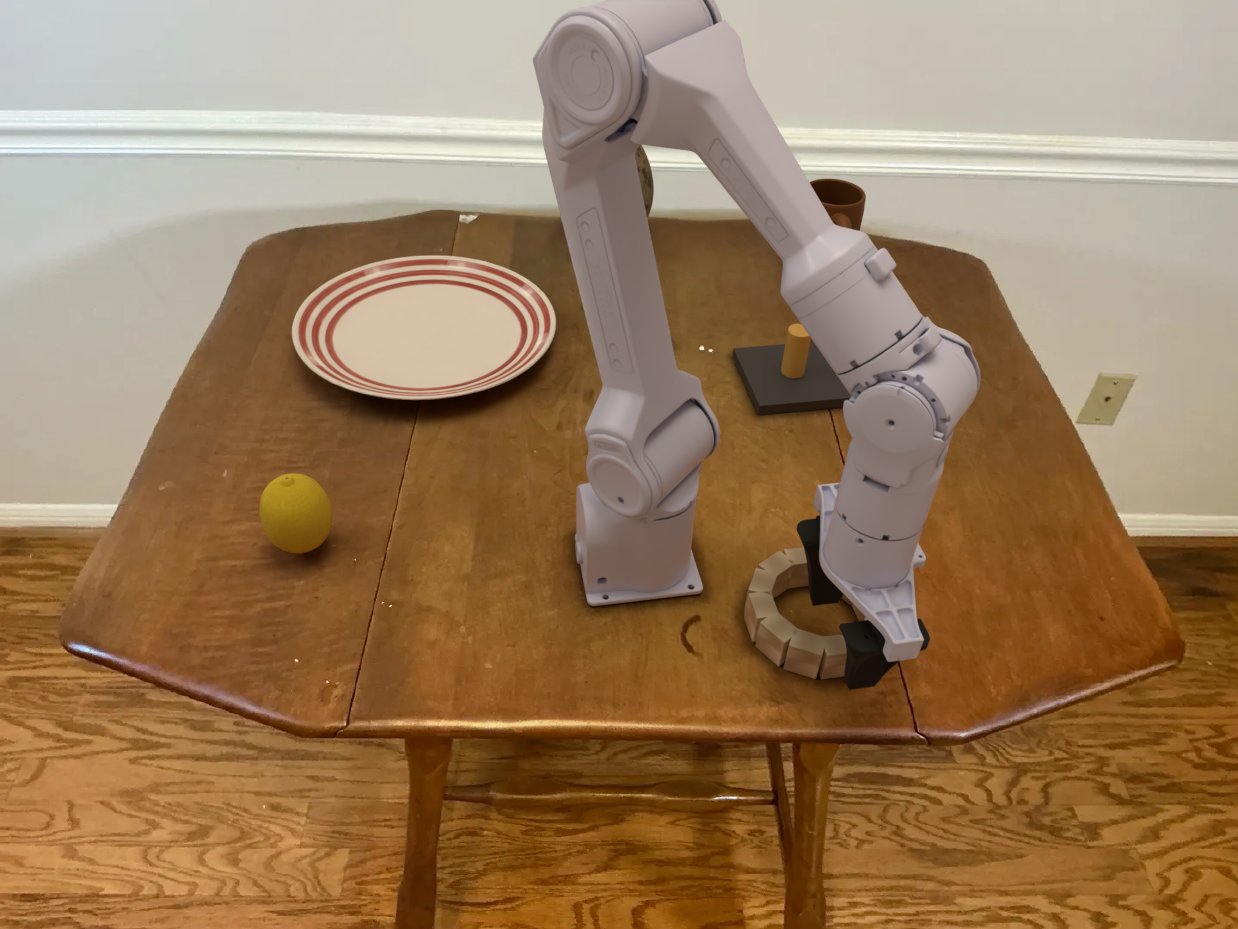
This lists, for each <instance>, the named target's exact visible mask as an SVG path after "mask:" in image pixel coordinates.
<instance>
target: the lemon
mask: <svg viewBox="0 0 1238 929" xmlns="http://www.w3.org/2000/svg"><path fill="white" fill-rule="evenodd" d="M258 512H259V521H260V525H261V527H262V530H263V532H264V534H265V536H266V538H268V541H270V542H271V543H272V545H274V546H275V547H276V548H278V549H280V550H281V551H284V552H287V553H291V554H304V553H308V552H311V551H314V550H315V549H317V548H318V547H319V546H321V545H322V544H323V543H324V542H325V541H326V539H327V538H328V537H329V534H330V532H331V529H332V525H333V509H332V506H331V501H330V499H329V496H328V495H327V493H326V492H325V490H324V488H323V487H322V486H321V484H320V483H319V482H318V481H316V480H315V479H314V478H313V477H310V476H308V475H306V474H303V473H295V472H293V473H292V472H291V473H285V474H281V475H279V476H278V477H276V478H274V479H272V480H271V481H270V482H269V483H268V484H267V486H266V487H265V488H264V489H263V490H262V494H261V496H260V499H259V511H258Z"/></svg>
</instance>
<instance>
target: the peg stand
mask: <svg viewBox="0 0 1238 929" xmlns="http://www.w3.org/2000/svg"><path fill="white" fill-rule="evenodd" d="M731 356H732V360H733V362H734V364H735V367H736V369H737V371H738V373H739V375H740V378H741V380H742V382H743V385H744V386H745V389H746V391H747V393H748V396H749V398H750V401H751V403H752V405H753V406H754V409H755V411H756V412H757V415H759V416H760V415H771V414H784V413H793V412H804V411H815V410H817V411H818V410H826V409H827V410H828V409H838V408H839V409H840V408H843V405H844V401H845V400H849V399H850V398H851V394H850V393H849V392H848V390H847V389H846V388H845V386H844V385H843V383H842V382H841V380H840V379H839V378H838V376H837V375H836V373H835V372H834V370H833V369H832V368H831V366H830V365H829V363H828V362H827V360H826V359H825V357H824V356H823V355H822V353H821V352H820V350H819V349H818V347H817V346H816V345H815V343H814V342H813V341H812V339H811V337H810V336H809V335H808V333H807V332H806V330H805V329H804V327H803V326H802V324H801V323H793V324H791V325H789V326H788V328H787V333H786V339H785V343H784V344H771V345H770V344H769V345H758V346H745V347H744V346H743V347H733V349H732V355H731Z"/></svg>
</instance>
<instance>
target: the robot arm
mask: <svg viewBox="0 0 1238 929" xmlns="http://www.w3.org/2000/svg"><path fill="white" fill-rule="evenodd" d="M532 63H533V68H534V73H535V76H536V80H537V85H538V88H539V93H540V97H541V101H542V104H543V114H542V115H543V116H542V117H543V118H542V130H541V138H542V144H543V145H542V146H543V150H544V155H545V159H546V162H547V167H548V171H549V175H550V178H551V183H552V187H553V192H554V194H555V199H556V203H557V207H558V211H559V215H560V219H561V224H562V227H563V232H564V235H565V240H566V243H567V248H568V251H569V256H570V259H571V264H572V268H573V271H574V275H575V280H576V284H577V288H578V292H579V296H580V300H581V304H582V307H583V312H584V316H585V321H586V325H587V328H588V332H589V336H590V339H591V344H592V348H593V352H594V357H595V360H596V364H597V369H598V371H599V376H600V380H601V384H602V387H601V390H600V393H599V394H598V397H597V400H596V402H595V404H594V406H593V408H592V411H591V413H590V416H589V417H588V420H587V422H586V424H585V428H584V434H585V438H586V441H587V448H588V450H587V451H588V452H587V456H586V460H585V472H586V476H587V478H588V482H585V483H582V484H578V485H576V490H575V491H576V493H575V535H574V540H575V544H574V546H575V556H576V558H575V559H576V562H577V564H578V565H580V572H581V576H582V581H583V587H584V591H585V596H586V602H587V604H588V605H589V606H592V607H598V606H606V605H607V606H608V605H615V604H622V603H632V602H640V601H648V600H649V601H650V600H658V599H666V598H676V597H683V596H691V595H699V594H702V592H704V585H703V582H702V579H701V575H700V572H699V569H698V566H697V562H696V560H695V557H694V553H693V549H692V546H693V545H692V544H693V536H694V528H695V520H696V511H697V510H696V509H697V503H698V495H699V494H698V493H699V488H700V487H699V486H700V484H699V482H700V479H699V476H700V474H701V473H702V466H703V461H704V460H706V459H708V458H709V457H711V456H712V455H713V454H714V453H715V452H716V451H717V449H718V448H719V445H720V442H721V429H720V425H719V421H718V419H717V417H716V415H715V413H714V411H713V410H712V409H711V407H710V405H709V404H708V401H707V400H706V398H705V394H704V392H703V387H702V382H701V379H700V378H699V377H697V376H695V375H693V374H691V373H689V372H687V371H684V370H681V369H678V366H677V361H676V355H675V350H674V346H673V340H672V334H671V330H670V325H669V321H668V316H667V311H666V306H665V301H664V295H663V291H662V285H661V281H660V276H659V271H658V265H657V260H656V255H655V250H654V246H653V240H652V235H651V230H650V226H649V220H648V218H647V215H646V210H645V205H644V200H643V195H642V190H641V185H640V180H639V175H638V170H637V165H636V160H635V152H636V150H637V148H638V147H639V145H640V144H641V145H642V146H648V147H657V148H664V149H665V148H666V149H673V150H679V151H687V152H692V153H694V154H696V155H697V156H698V158H699V159H700V160H701V162H703V164H704V165H705V167H707V169H708V170H709V171H710V173H711V174H712V175H713V176H714V177H715V179H716V180H717V181H718V183H719V184H720V185H721V186H722V188H723V189H724V190H725V191H726V192H727V194H728V195H729V196H730V197H731V199H732V200H733V201H734V203H735V204H736V205H737V206H738V207H739V209H740V210H741V211H742V212H743V213H744V216H746V217H747V219H748V220H749V221H750V222H751V224H752V225H753V226H754V227H755V229H756V230H757V231H758V232H759V234H760V235H761V236H762V238H764V240H765V241H766V242H767V243H768V245H769V246H770V247H771V249H772V250H773V251H774V252H775V254H777V256H778V257H779V258H780V260H781V261H782V269H781V270H782V271H781V279H780V280H781V281H780V291H779V292H780V296H781V297H782V299H783V301H784V302H785V303H786V305H787V306H788V308H789V309H790V310H791V312H792V313H793V314H794V316H795V317H796V319H797V320H798V322H799V324H802V326H803V327H804V329H805V330H806V332H807V333H808V335H809V336H810V337H811V341H812V342H814V343H815V345H816V346H817V347H818V349H819V350H820V352H821V353H822V355H823V356H824V357H825V359H826V360H827V362H828V363H829V365H830V366H831V368H832V369H833V370H834V372H835V373H836V375H837V376H838V378H839V379H840V380H841V382H842V383H843V385H844V386H845V388H846V389H847V390H848V392H849V393H850V394H851V398H850V399H849V400H845V401H844V405H843V407H842V412H843V414H842V415H843V419H844V423H845V426H846V429H847V431H848V433H849V435H850V436H851V441H850V443H849V445H848V449H847V453H846V458H845V460H844V461H845V463H844V466H843V469H842V474H841V478H840V482H833V483H824V484H817V485H816V490H815V494H814V499H813V506H814V508H815V510H816V512H818V513H819V514H818V515H817V514H816V516H815V518H808V519H801V521H799V522H798V523H797V525H796V532H797V535H798V536H799V539H800V541H801V544H802V547H804V551H805V555H806V560H807V568H808V581H809V586H808V591H809V592H808V593H809V599H810V601H811V604H812V606H813V607H816V606H824V605H832V604H839V603H840V601H841V600H842V599H841V598H842V596H843V595H845V596H846V597H847V598H848V599H849V600H850V601H851V602H852V603H853V604H854V605H855V606H856V607H857V608H858V609H859V610H860V611H861V612H862V613H863V614H864V615H865V616H866V618H867V619H868V620H869V621H868V620H865V621H859V620H857V621H849V622H843V623H840V624H839V626H838V627H839V630H840V632H841V633H840V634H842V635H843V637H844V639H845V642H846V650H847V657H846V664H845V671H844V683H845V685H846V687H847V689H848V690H849V691H853V690H859V689H867V688H874V687H876V685H877V684H878V683H879V682H880V681H881V679H882V678H883V677H884V676H885V675H886V674H887V673H888V672H889V671H891V669H892V668H894V667H895V666H896V665H897V664H899V663H900V662H901V661H908V660H913V659H917V658H918V656H919V654H920V652H922V651H925V650H926V649H927V648H928V646H929V644H930V641H931V636H930V634H929V631H928V629H927V628H926V626H925V624H924V622H923V620H922V618H920V617H918V616H917V602H916V590H915V589H916V588H915V575H914V569H919V568H923V567H924V565H925V563H926V560H927V556H926V554H925V552H924V550H923V549H922V547H921V545H920V544H919V541H920V538H921V536H922V533H923V530H924V527H925V524H926V522H927V518H928V515H929V513H930V511H931V507H932V504H933V502H934V498H935V495H936V492H937V489H938V488H939V484H940V482H941V481H940V480H941V478H942V475H943V473H944V467H945V460H946V458H947V456H948V453H949V448H950V447H949V446H950V444H951V440H952V438H953V435H954V432H955V427H956V426H957V424H958V423H959V422H960V420H961V419H962V417H964V415H965V414H966V412H967V411H968V409H969V408H971V405H972V404H973V402H974V401H975V398H976V396H977V394H978V392H979V390H980V387H981V382H982V381H981V380H982V379H981V378H982V377H981V369H980V365H979V362H978V361H977V358H976V357H975V355H974V353H973V348H972V346H971V345H970V344H969V343H968V342H967V340H965V339H964V338H962V337H961V336H959V335H958V334H956V333H954V332H952V331H950V330H948V329H945V328H942V327H939V326H937V325H936V324H934V323H933V322H932V320H931V319H930V317H929V316H924V315H923V314H922V313H921V311H920V310H919V308H918V307H917V306H916V304H915V303H914V301H913V300H912V298H911V297H910V296H909V294H908V293H907V291H906V289H905V288H904V287H903V285H902V283H901V282H900V281H899V279H898V278H897V276H896V275H895V274H894V272H893V271H894V270H895V269H896V267H897V263H896V262H895V260H894V258H893V257H892V256H891V254H890V252H889V251H888V249H887V248H885V247H881V248H879V249H878V248H877V247H876V245H875V244H874V242H873V241H872V240H871V238H870V237H869V235H868V234H867V233H866V232H864V231H861V230H860V231H857V230H853V229H849V228H845V227H840V226H837V225H835V224H834V223H833V222H832V220H831V218H830V217H829V215H828V213H827V212H826V210H825V208H824V206H823V205H822V203H821V201H820V200H819V198H818V196H817V195H816V193H815V191H814V189H813V188H812V186H811V184H810V183H809V182H810V181H809V179H808V177H807V175H806V174H805V172H804V170H803V169H802V167H801V166H800V164H799V162H798V160H797V158H796V157H795V156H794V153H793V151H792V150H791V148H790V147H789V145H788V144H787V142H786V140H785V138H784V137H783V135H782V133H781V131H780V129H779V128H778V126H777V124H776V123H775V121H774V120H773V117H772V116H771V114H770V113H769V111H768V109H767V107H766V106H765V104H764V103H763V101H762V99H761V97H760V95H759V94H758V92H757V90H756V89H755V87H754V86H753V84H752V82H751V80H750V77H749V74H748V70H747V66H746V61H745V55H744V50H743V44H742V40H741V36H739V33H738V32H737V30H736V29H734V28H733V27H732V25H731V24H730V23H729V22H728V21H727V20H726V19H724V20H723V18H722V14H721V12H720V9H719V6H718V4H717V3H716V1H715V0H603V1H600V2H597V3H595V4H593V5H590V6H578V7H576V8H573V9H571V10H568V11H566V12H564V13H562V15H561V16H559V17H558V18H557V19H556V20H555V22H554V23H553V25H552V26H551V27H550V29H549V31H548V32H547V34H546V36H545V37H544V39H543V41H542V42H541V44H540V45H539V47H538V48H537V50H536V51H535V53H534V55H533V57H532Z"/></svg>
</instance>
